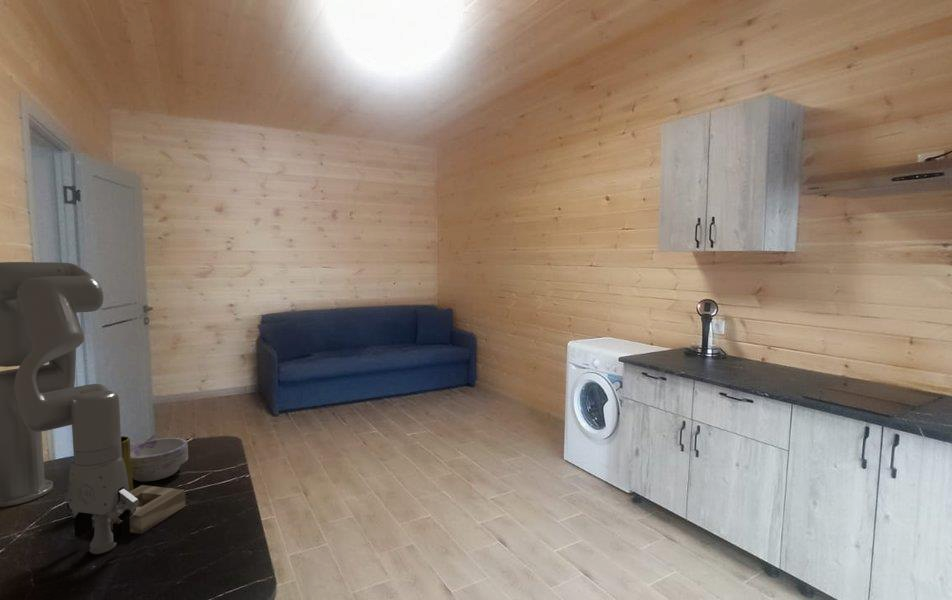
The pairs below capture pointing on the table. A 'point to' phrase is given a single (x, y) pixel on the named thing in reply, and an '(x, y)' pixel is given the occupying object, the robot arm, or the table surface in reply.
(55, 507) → the table surface
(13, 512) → the table surface
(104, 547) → the rook chess piece
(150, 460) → the paper bowls
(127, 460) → the vase
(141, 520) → the socket block
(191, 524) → the table surface
